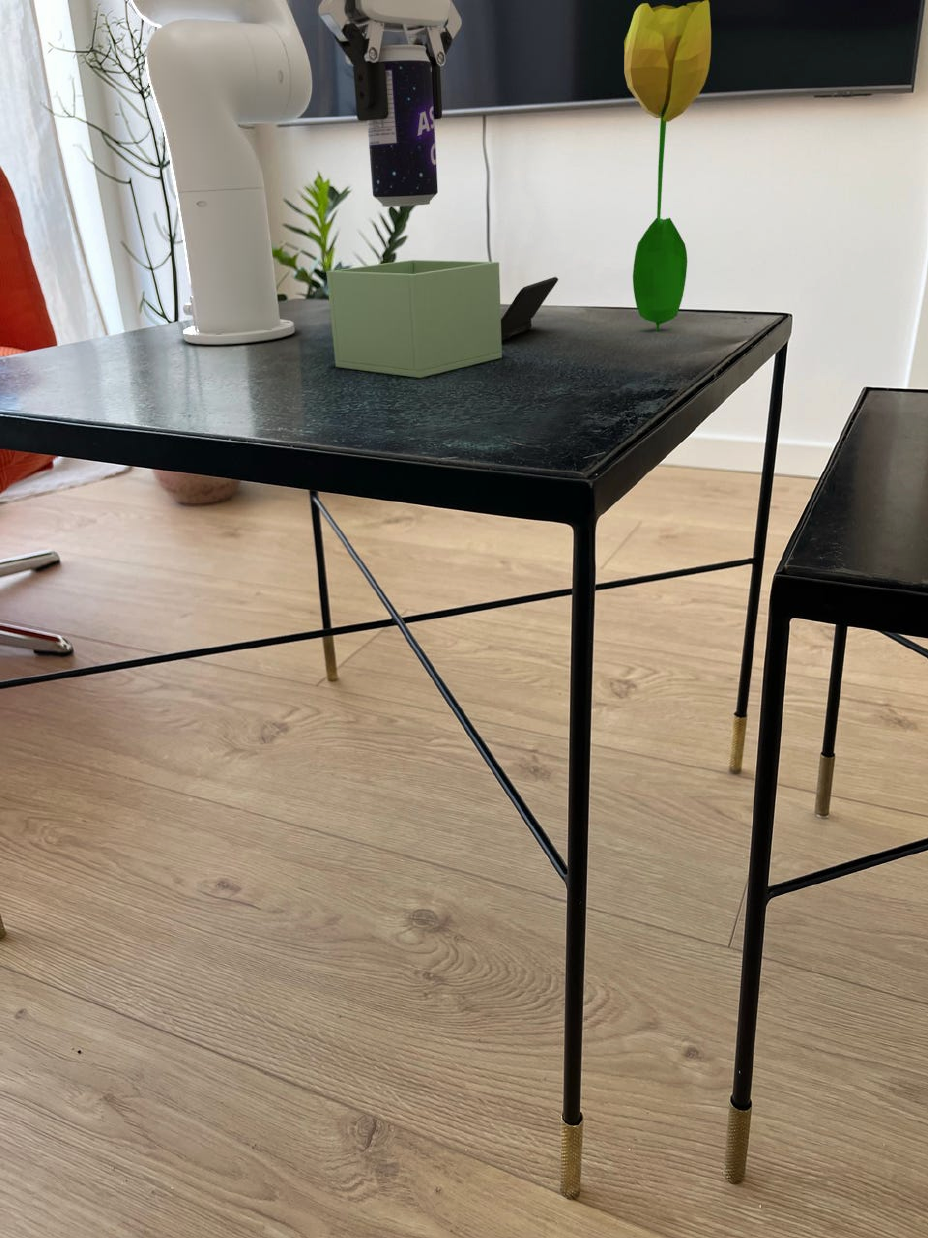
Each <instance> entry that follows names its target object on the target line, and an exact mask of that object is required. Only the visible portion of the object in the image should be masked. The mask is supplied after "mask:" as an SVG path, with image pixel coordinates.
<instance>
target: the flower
mask: <svg viewBox="0 0 928 1238" xmlns="http://www.w3.org/2000/svg"><path fill="white" fill-rule="evenodd" d="M710 7H711V6H710V2H709V0H703V1H700V0H699V1H694V2H689V3H687V4H686V5H680V6H679V7H675V6H672V5H665V4H661V5H658V6H655V7H651V5H650V4H649V3H648V2H647V3H640V5H638V7H637V8H636V9H635V11H634V13H633V17H632V20H631V23H630V27H629V29H628V31H627V33H626V36H625V38H624V41H623V44H624V46H623V47H624V57H623V58H624V61H623V62H624V65H623V66H624V67H623V68H624V71H623V73H624V77H625V81H626V86H627V88H628V90H629V91H630V93H632V95H633V96H634V98H635V99H636V100H637V102H638V103H639V105H640V106H641V108H642V109H643V110H644V112H645V113H647V114H648V115H650V116H652V117H653V118H655V119H660V127H659V146H658V147H659V149H658V167H657V168H658V170H657V203H656V205H657V207H656V208H657V209H656V210H657V211H656V218H655V219H654V220H653V221H652V223H651V224H650V225H649V227H648V228H647V229H646V231H645V232H644V233H643V235H642V236H641V238H640V240H639V241H638V242H637V246H636V249H635V255H634V263H633V270H632V284H633V285H632V287H633V296H634V300H635V304H636V308H637V311H638V314H639V316H640V317H641V318H642V319H644V320H645V321H647V322H651V323H654V324H655V331H660V325H662V324H665V323H667V322H669V321H671V320H673V319H675V318H676V317H677V316H678V313H679V310H680V307H681V304H682V302H683V301H682V300H683V297H684V292H685V286H686V280H687V271H688V253H687V246H686V243H685V242H684V240H683V238H682V236H681V233H680V232H679V231H678V229H677V227H676V226H675V224H674V222H673V221H672V219H671V217H668V218H665V219H664V218H661V217H662V216H661V214H662V195H663V177H664V176H663V174H664V162H665V161H664V158H665V146H666V145H665V144H666V133H667V123H669V122H671V121H673V120H675V119H676V118H678V117H680V116H681V115H682V114H683V113H684V112H685V111H687V109H689V106H690V105H692V103H693V102H695V100H696V98H697V97H698V96H699V94H700V92H701V90H703V87H704V86H705V83H706V81H707V77H708V73H709V70H710V63H711V55H712V54H711V53H712V51H711V50H712V27H711V9H710Z"/></svg>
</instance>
